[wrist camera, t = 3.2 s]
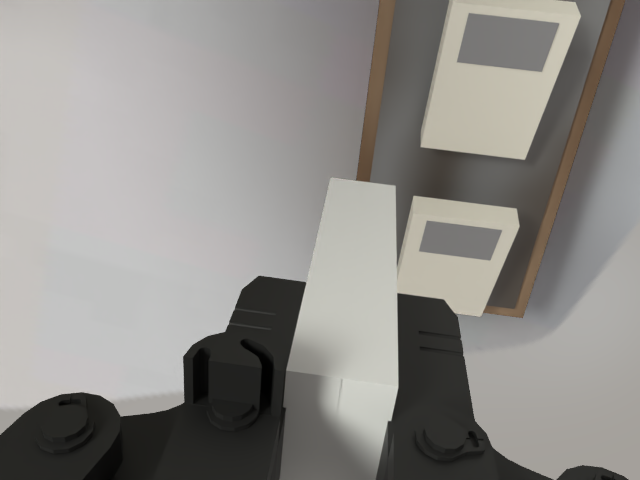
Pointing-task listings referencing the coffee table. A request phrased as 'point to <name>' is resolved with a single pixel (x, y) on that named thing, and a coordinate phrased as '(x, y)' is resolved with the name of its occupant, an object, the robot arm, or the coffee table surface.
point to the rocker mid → (496, 74)
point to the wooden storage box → (467, 168)
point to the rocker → (455, 251)
